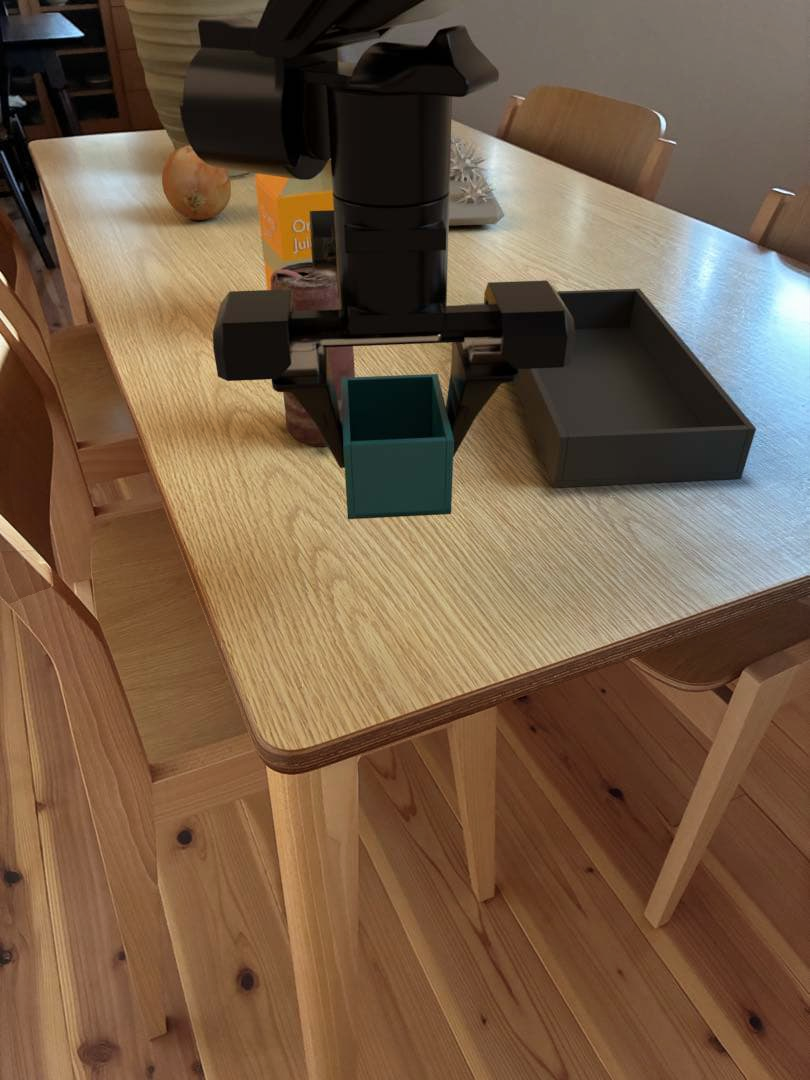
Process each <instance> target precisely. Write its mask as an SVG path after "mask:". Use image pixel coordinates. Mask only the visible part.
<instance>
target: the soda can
mask: <svg viewBox="0 0 810 1080" xmlns="http://www.w3.org/2000/svg"><path fill="white" fill-rule="evenodd" d="M270 281H271V290H286V289H291V292H292V297H293V305H294V311H316V310H339V299H338V287H337V270H336V269H318V270H316V269H314V268H313V263H312V262H304V263H297V264H293V265H288V266H286V267H284V268H281V269H277V270H276V271H275V272H273V273H272V276H271V278H270ZM328 350H329V356H330V363H331V370H332V375H333V380H334V385H335V390H336V395H337V400H338V405H339V410H340V415H341V420H342V392H341V378H348V377H356V373H355V369H356V368H355V352H354V351H355V350H354V346H348V347H328ZM282 394H283V404H284V413H285V422H286V423H285V424H286V428H287V431H288V433H289V435H291V437H292V438H293V439H295V440H296V441H297V442H298V443H301V444H303V445H306V446H311V447H328V445H327V444H326V442H325V440H324V438H323V436H322V434H321V432H320V431H319V429H318V427H317V426H316V424H315V423H314V421H313V420H312V419H311V417H310V416H309V415H308V414H307V412H306V411H305V410H304V408H303V407H302V406H301V405H300V403H299V402H298V401H297V399H296V398H295V397H294V396H293V394H292V393H289V392H282ZM342 425H343V423H342Z"/></svg>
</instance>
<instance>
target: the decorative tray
mask: <svg viewBox="0 0 810 1080" xmlns="http://www.w3.org/2000/svg"><path fill="white" fill-rule="evenodd" d="M463 135H464V133H462V134H461V132H458V133H457V134H456V135H455V131H452V133H451V154H450V190H449V191H450V194H449V226H478V225H479V226H480V225H483V226H484V225H496V224H498V222H500V220H502V219H503V218H504V217H505V212H504V211H503V209H502V207H501V205H500V204H499V202H498V200H497V197H496V196H495V194H494V192H493V191H495V190H496V188H492V187H491V186H493V184H494V182H493V183H490V184H488V182H487V180H488V177H489V176H488V175H487V176H486V177H485V174H482V172H481V171H488V169H486V168H484V167H480V166H478V165H480V164H481V163H483V162H485V161H486V160H487V159H488V158H483V157H481V156H482V155H484V154H485V151H484V152H482V153H479V154H477V155H474V154H475V152H476V150H477V147H478V145H479V143H477V144H476V145H475V147H474V148H473V145H474V141H473V142H472V141H470V142H468V143H467V140H468V138H467V139H466V138H465V139H463ZM467 145H468V146H467ZM465 146H467V148H465ZM472 148H473V149H472Z"/></svg>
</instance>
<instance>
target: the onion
mask: <svg viewBox="0 0 810 1080" xmlns="http://www.w3.org/2000/svg"><path fill="white" fill-rule="evenodd" d="M161 173H162V174H161V182H162V183H161V184H162V185H161V186H162V190H163V194H164V196H165V198H166V200H167V202H168V203H169V204H170V206H171V207H172V208H173V210H175V212H177V213H178V214H180V215H181V216H183V217H185V218H188V219H189V220H191V221H193V220H194V221H204V220H209V219H212V218H214V217H216V216H218V215H220V214H221V213H222V212H223V211H224V210H225V209H226V207H227V206H228V204H229V203H230V199H231V195H232V181H231V177H229V174H228V172H227V169H224V168H217V167H213V166H210V165H208V164H206V163H205V162H204V161H202V160H201V159H200V158H199V157H198V156H197V155H196V153H195V152H194V150H193V149H192V147H191V146H190V145H189V146H185V147H182V148H179V149H177V150H175V149H174V150H173V151H171V153H170V154H169V155H168V156H167V158H166V160H165V162H164V166H163V169H162V172H161Z"/></svg>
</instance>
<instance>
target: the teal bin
mask: <svg viewBox="0 0 810 1080" xmlns="http://www.w3.org/2000/svg"><path fill="white" fill-rule="evenodd" d="M341 392H342V423H343V449H344V466H345V468H344V480H345V495H346V496H345V497H346V511H347V512H346V513H347V520H362V519H363V520H364V519H365V520H366V519H381V518H382V519H384V518H401V517H402V518H403V517H422V516H423V517H424V516H440V515H451V514H452V505H453V504H452V500H453V474H454V457H453V450H454V439H453V435H452V431H451V427H450V422H449V418H448V414H447V410H446V401H445V398H444V394H443V390H442V385H441V381H440V378H439V374H438V373H425V374H423V373H422V374H401V375H400V374H399V375H373V376H355V377H348V378H341Z"/></svg>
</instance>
